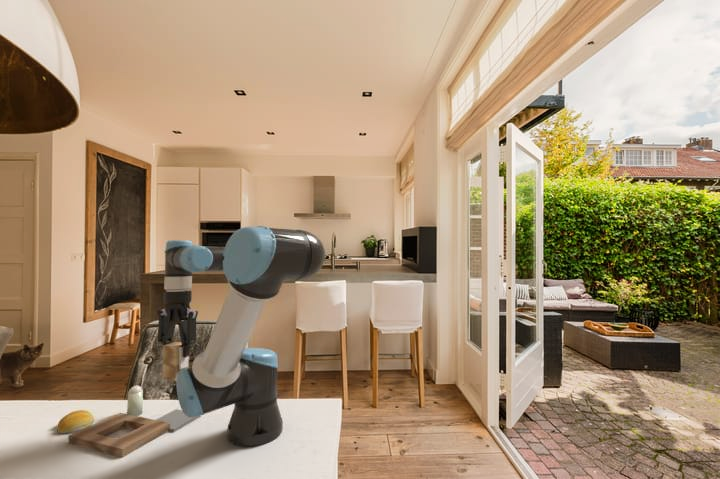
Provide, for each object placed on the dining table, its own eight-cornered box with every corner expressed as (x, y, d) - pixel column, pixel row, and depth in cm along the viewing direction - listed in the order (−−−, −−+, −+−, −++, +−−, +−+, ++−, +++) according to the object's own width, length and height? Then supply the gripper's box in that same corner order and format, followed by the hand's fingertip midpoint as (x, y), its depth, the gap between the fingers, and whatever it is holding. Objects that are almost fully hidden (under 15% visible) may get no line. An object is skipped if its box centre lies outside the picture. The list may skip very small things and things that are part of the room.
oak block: (188, 375, 104) (189, 342, 105) (175, 381, 100) (176, 346, 100) (176, 373, 106) (177, 341, 107) (162, 379, 101) (163, 345, 102)
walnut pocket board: (170, 430, 97) (170, 423, 97) (122, 457, 84) (122, 449, 84) (119, 419, 103) (120, 412, 104) (68, 443, 90) (68, 435, 90)
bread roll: (57, 438, 93) (58, 423, 93) (57, 425, 100) (58, 412, 100) (95, 428, 99) (95, 414, 99) (93, 417, 105) (93, 404, 106)
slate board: (200, 416, 106) (200, 413, 106) (173, 432, 96) (174, 429, 96) (175, 411, 109) (176, 409, 109) (147, 426, 99) (147, 423, 99)
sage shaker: (145, 412, 108) (146, 384, 109) (133, 418, 104) (134, 389, 105) (136, 410, 109) (137, 382, 110) (123, 416, 106) (125, 387, 106)
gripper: (210, 289, 105) (209, 365, 104) (165, 288, 111) (163, 360, 109) (192, 292, 98) (189, 373, 97) (145, 290, 103) (142, 367, 102)
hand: (175, 366), depth 103 cm, fingers closed on oak block, 5 cm apart
